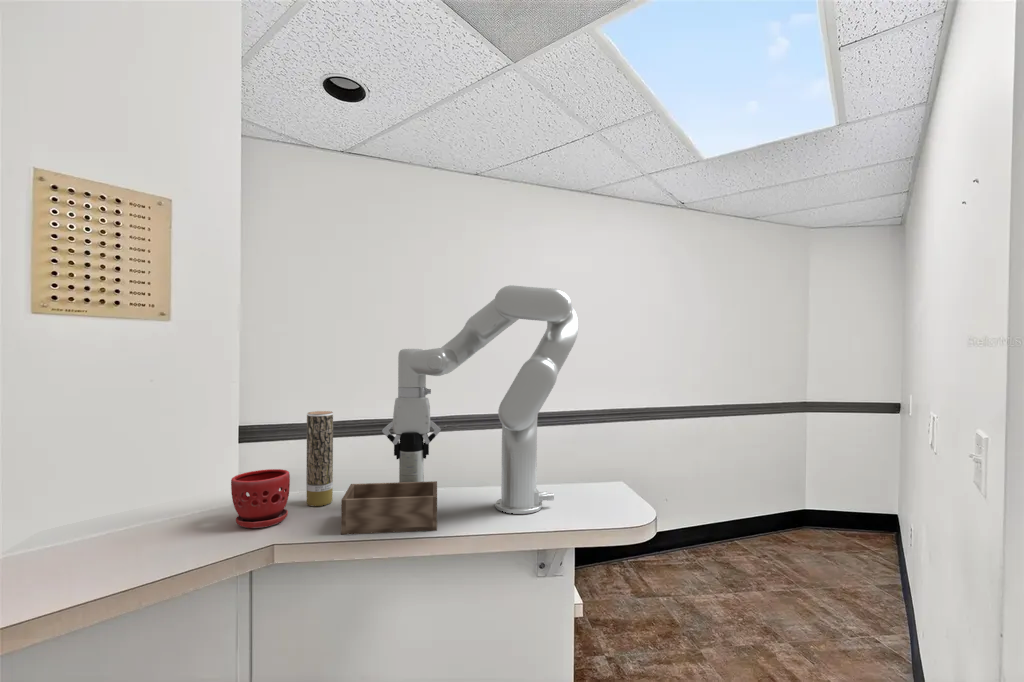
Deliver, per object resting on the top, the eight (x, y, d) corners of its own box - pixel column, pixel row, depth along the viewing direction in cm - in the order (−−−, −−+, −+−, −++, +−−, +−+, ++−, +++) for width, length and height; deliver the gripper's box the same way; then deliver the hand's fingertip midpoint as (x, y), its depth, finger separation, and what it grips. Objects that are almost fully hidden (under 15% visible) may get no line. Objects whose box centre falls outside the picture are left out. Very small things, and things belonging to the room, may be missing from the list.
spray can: (428, 503, 148) (429, 431, 148) (408, 508, 143) (409, 434, 143) (413, 498, 152) (413, 428, 152) (393, 503, 147) (394, 431, 147)
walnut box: (436, 511, 141) (437, 481, 141) (436, 530, 127) (437, 496, 127) (350, 514, 137) (350, 483, 137) (341, 534, 124) (341, 500, 124)
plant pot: (293, 512, 139) (293, 466, 139) (284, 529, 127) (284, 479, 127) (238, 515, 136) (239, 469, 136) (224, 534, 124) (224, 482, 124)
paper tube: (336, 500, 150) (337, 411, 150) (325, 507, 143) (326, 414, 143) (313, 499, 151) (314, 410, 151) (301, 506, 144) (302, 414, 144)
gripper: (443, 391, 152) (442, 454, 152) (381, 392, 150) (380, 455, 150) (443, 394, 145) (443, 460, 145) (378, 395, 142) (377, 461, 143)
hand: (411, 457), depth 147 cm, fingers closed on spray can, 6 cm apart
